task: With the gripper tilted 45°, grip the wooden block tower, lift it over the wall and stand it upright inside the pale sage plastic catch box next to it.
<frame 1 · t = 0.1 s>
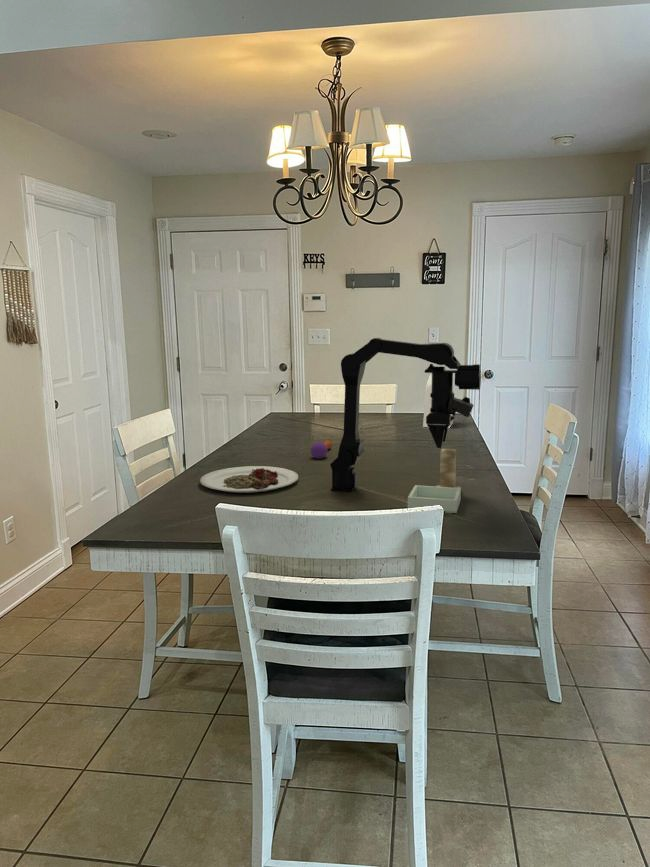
hand: (441, 444, 182), 15 cm above the table, tool pointing down, fingers open, 9 cm apart
plated food: (249, 483, 201), on the table
catch box: (434, 505, 176), on the table
purple and orange maraca: (322, 455, 241), on the table
milk: (438, 426, 296), on the table
wooden block tower: (447, 493, 187), on the table
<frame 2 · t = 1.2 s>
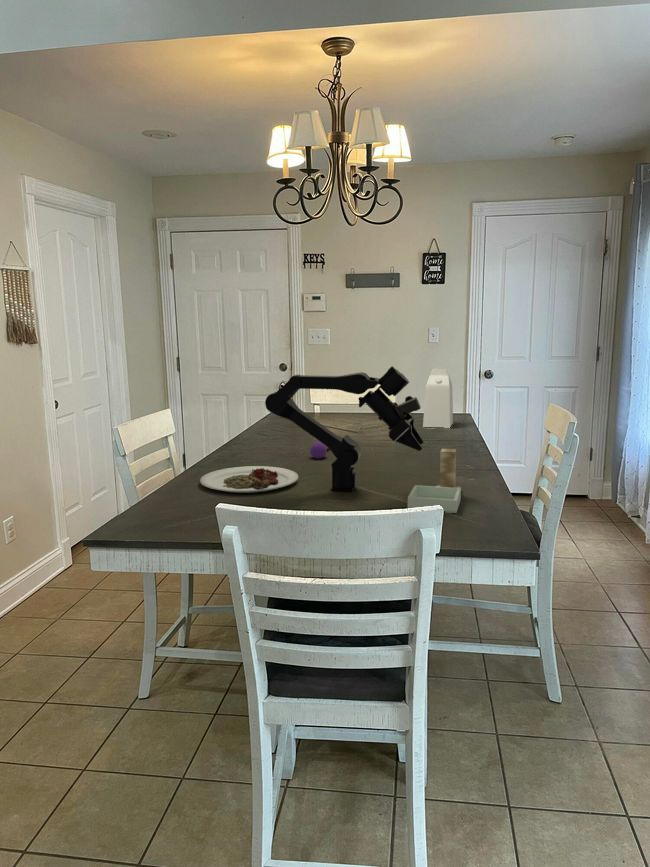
hand: (421, 446, 186), 13 cm above the table, tool tilted 45°, fingers open, 9 cm apart
nothing on the table moved.
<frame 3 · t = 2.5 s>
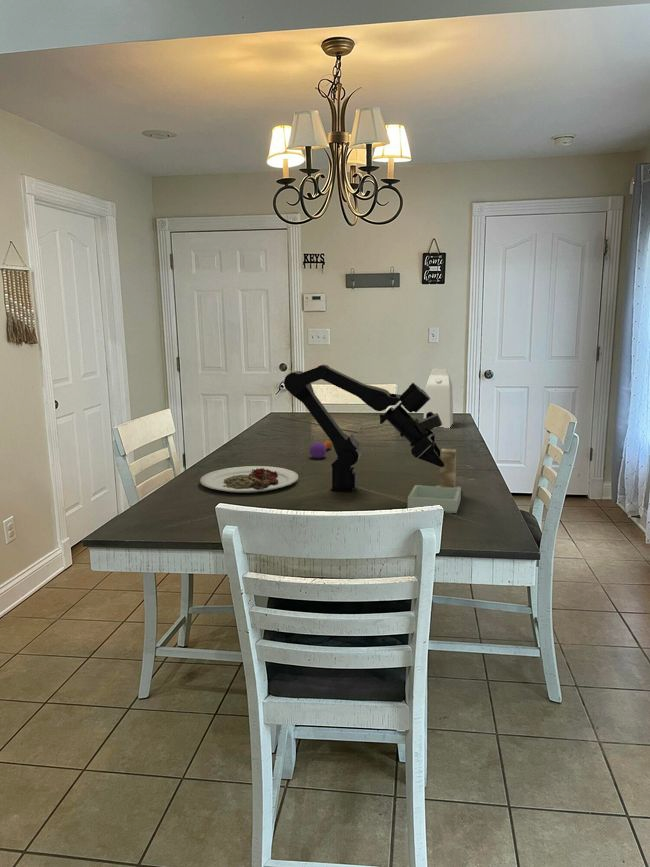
hand: (443, 462, 186), 9 cm above the table, tool tilted 45°, fingers open, 9 cm apart
nothing on the table moved.
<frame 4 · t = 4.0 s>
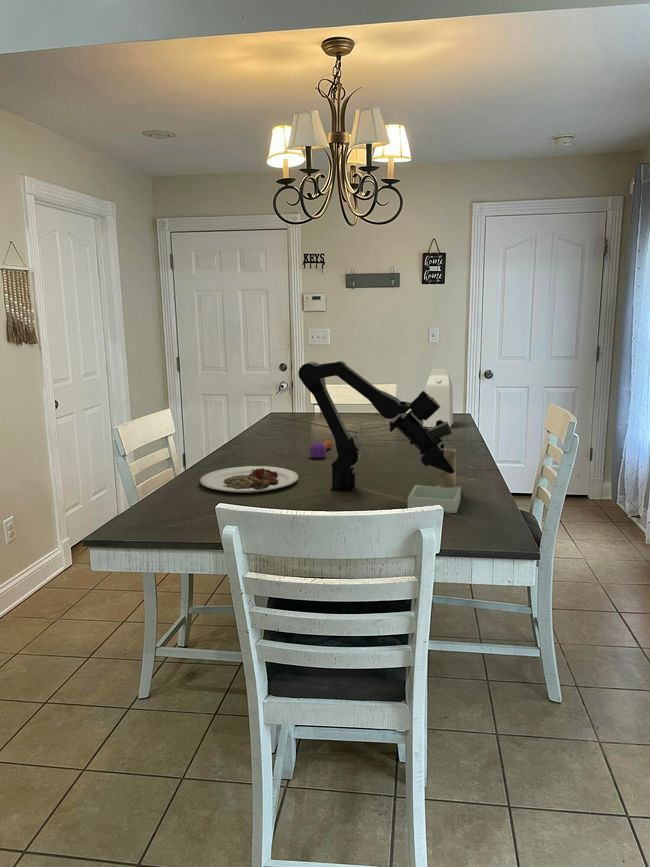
hand: (452, 470, 186), 7 cm above the table, tool tilted 45°, fingers closed on wooden block tower, 4 cm apart
wooden block tower: (447, 492, 187), on the table, touching gripper
everything else where it was.
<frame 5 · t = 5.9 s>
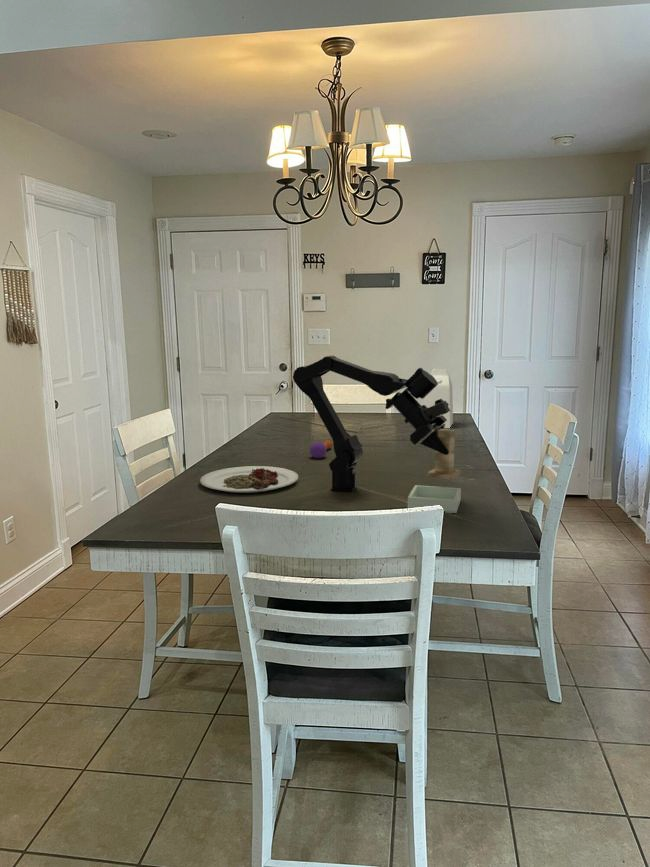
hand: (449, 452, 178), 13 cm above the table, tool tilted 45°, fingers closed on wooden block tower, 4 cm apart
wooden block tower: (444, 475, 180), point 7 cm above the table, touching gripper
everything else where it was.
when the fingers open (8 cm above the table, at t = 8.1 s): wooden block tower stays where it is, resting on catch box.
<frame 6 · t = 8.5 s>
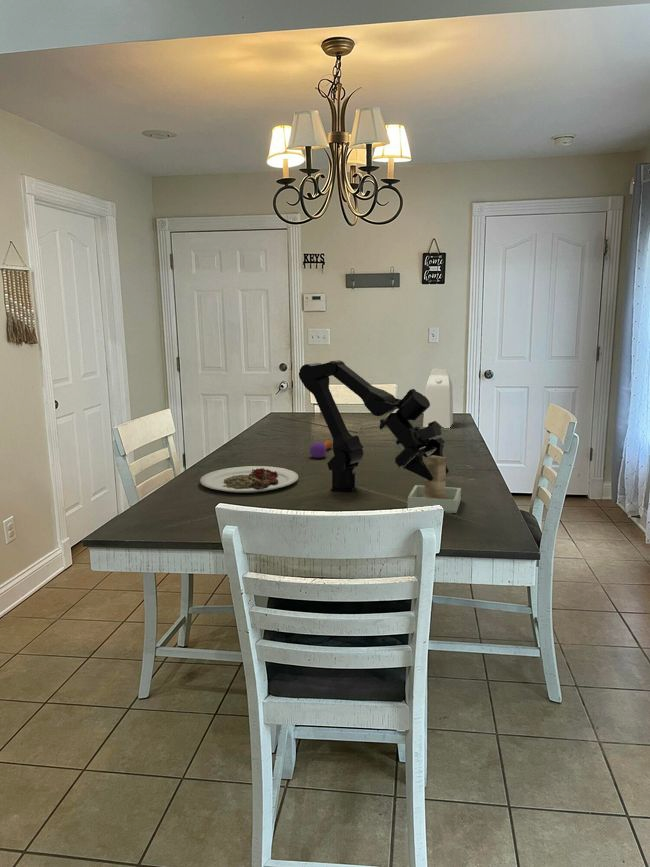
hand: (440, 476, 173), 8 cm above the table, tool tilted 45°, fingers open, 9 cm apart
wooden block tower: (434, 502, 175), point 1 cm above the table, touching catch box
everything else where it was.
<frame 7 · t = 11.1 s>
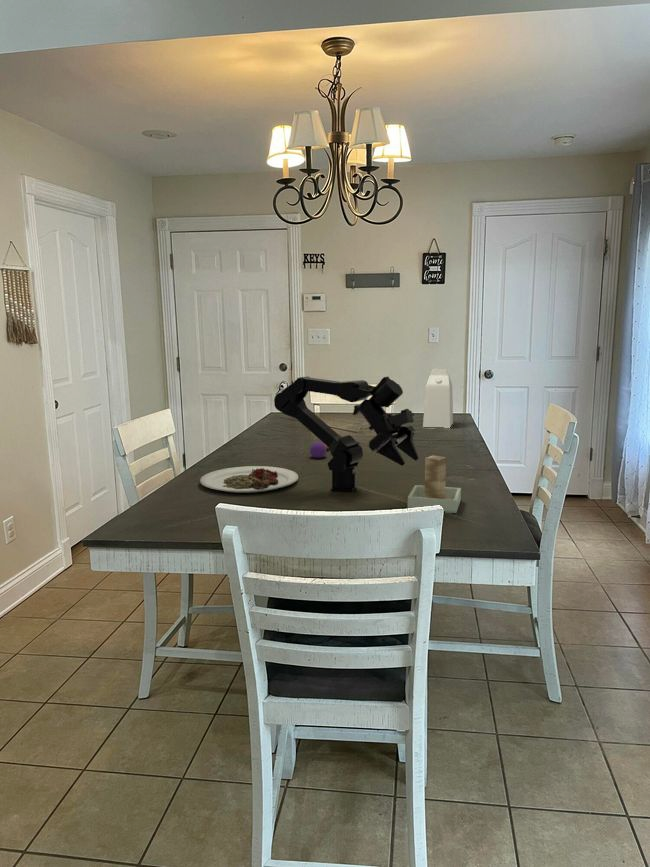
hand: (410, 462, 179), 11 cm above the table, tool tilted 45°, fingers open, 9 cm apart
nothing on the table moved.
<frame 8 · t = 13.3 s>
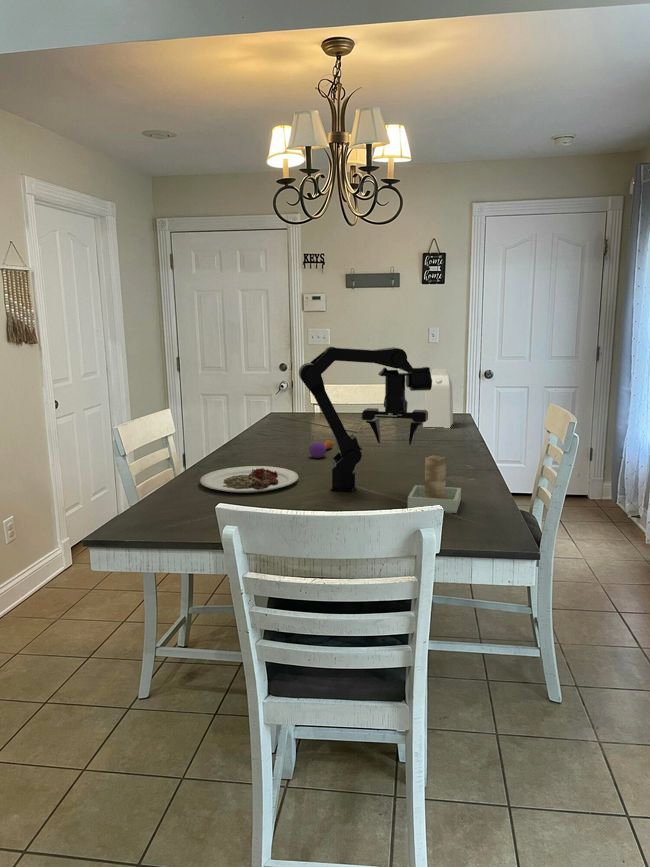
hand: (394, 443, 192), 13 cm above the table, tool pointing down, fingers open, 9 cm apart
nothing on the table moved.
at the end: wooden block tower inside the target area on the catch box (0.0 cm from its centre), point 0.6 cm above the catch box's base; wooden block tower tilted 0°; the gripper is holding nothing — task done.
